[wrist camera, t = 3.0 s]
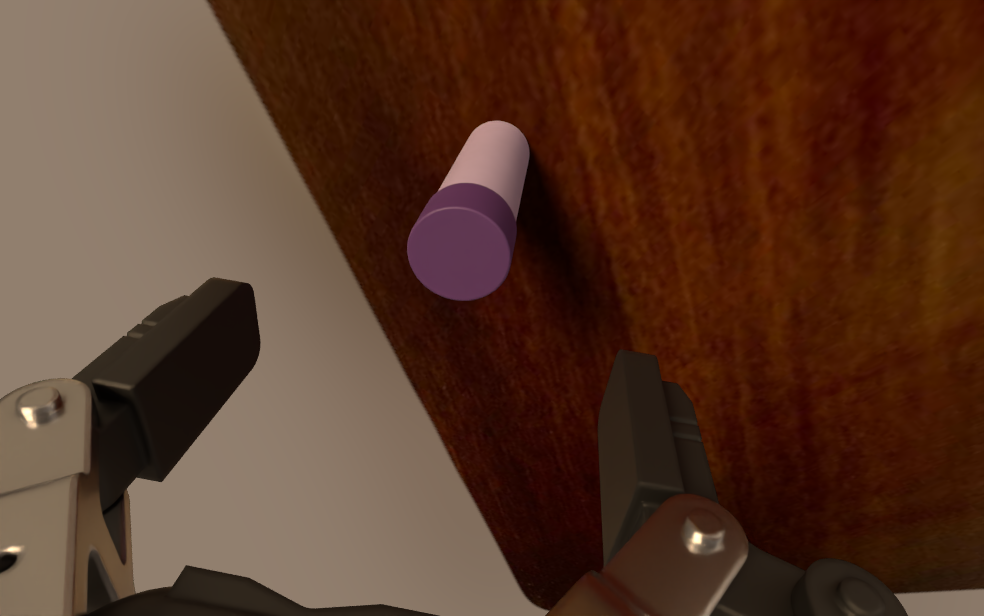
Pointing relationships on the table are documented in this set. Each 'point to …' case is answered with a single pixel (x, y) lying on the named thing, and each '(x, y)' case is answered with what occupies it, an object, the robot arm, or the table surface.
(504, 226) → the glue stick
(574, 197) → the table surface
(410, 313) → the table surface
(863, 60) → the table surface
